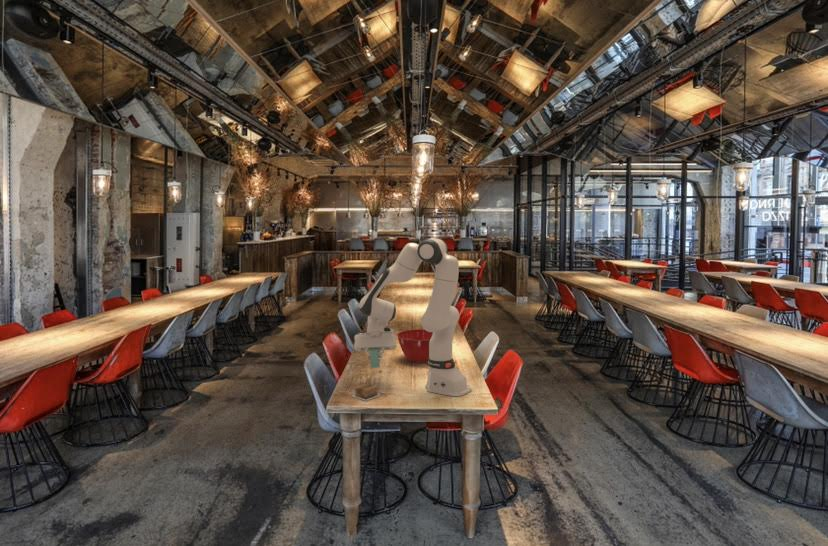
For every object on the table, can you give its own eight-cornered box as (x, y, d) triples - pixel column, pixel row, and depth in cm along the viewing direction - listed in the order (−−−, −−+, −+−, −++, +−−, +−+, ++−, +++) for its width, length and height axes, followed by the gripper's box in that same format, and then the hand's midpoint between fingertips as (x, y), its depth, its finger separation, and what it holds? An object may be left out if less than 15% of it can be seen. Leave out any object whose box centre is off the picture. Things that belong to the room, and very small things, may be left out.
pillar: (379, 365, 240) (379, 348, 240) (378, 367, 237) (378, 350, 236) (371, 365, 241) (370, 349, 240) (370, 367, 237) (369, 351, 236)
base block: (377, 395, 228) (377, 386, 228) (366, 399, 223) (366, 390, 222) (366, 391, 233) (366, 383, 232) (355, 395, 227) (355, 387, 227)
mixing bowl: (396, 367, 274) (396, 339, 272) (397, 353, 302) (397, 328, 301) (447, 366, 274) (448, 339, 273) (444, 353, 303) (444, 328, 301)
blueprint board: (385, 395, 228) (385, 394, 228) (365, 402, 219) (365, 401, 219) (366, 389, 236) (366, 389, 236) (347, 396, 227) (347, 395, 227)
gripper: (354, 329, 244) (352, 354, 235) (395, 328, 244) (395, 353, 235) (355, 336, 249) (353, 361, 240) (396, 335, 249) (396, 360, 240)
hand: (374, 357), depth 238 cm, fingers closed on pillar, 4 cm apart
